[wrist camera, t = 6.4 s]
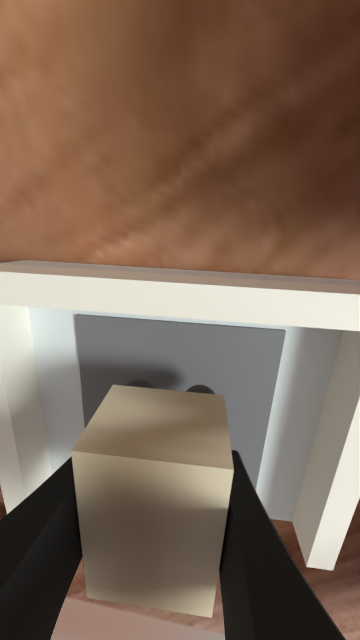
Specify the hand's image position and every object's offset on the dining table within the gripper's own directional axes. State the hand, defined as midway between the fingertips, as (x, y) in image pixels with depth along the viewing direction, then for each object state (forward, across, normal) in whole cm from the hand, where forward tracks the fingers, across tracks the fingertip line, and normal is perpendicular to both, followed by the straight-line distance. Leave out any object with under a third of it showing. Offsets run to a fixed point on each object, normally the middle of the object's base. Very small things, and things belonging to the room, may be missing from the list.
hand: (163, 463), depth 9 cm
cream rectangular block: (+2, 0, 0) cm, 2 cm away
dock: (+5, 0, 0) cm, 5 cm away
